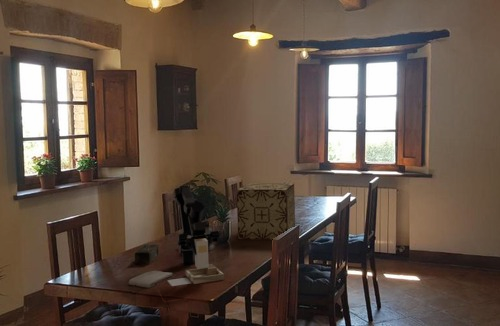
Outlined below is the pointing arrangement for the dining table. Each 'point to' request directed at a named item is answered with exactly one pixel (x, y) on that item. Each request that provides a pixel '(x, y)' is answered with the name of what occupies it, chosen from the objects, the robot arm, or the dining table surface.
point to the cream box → (201, 253)
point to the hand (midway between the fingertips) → (202, 254)
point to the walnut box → (210, 270)
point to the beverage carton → (146, 254)
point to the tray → (203, 276)
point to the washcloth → (149, 278)
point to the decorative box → (265, 210)
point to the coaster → (179, 281)
